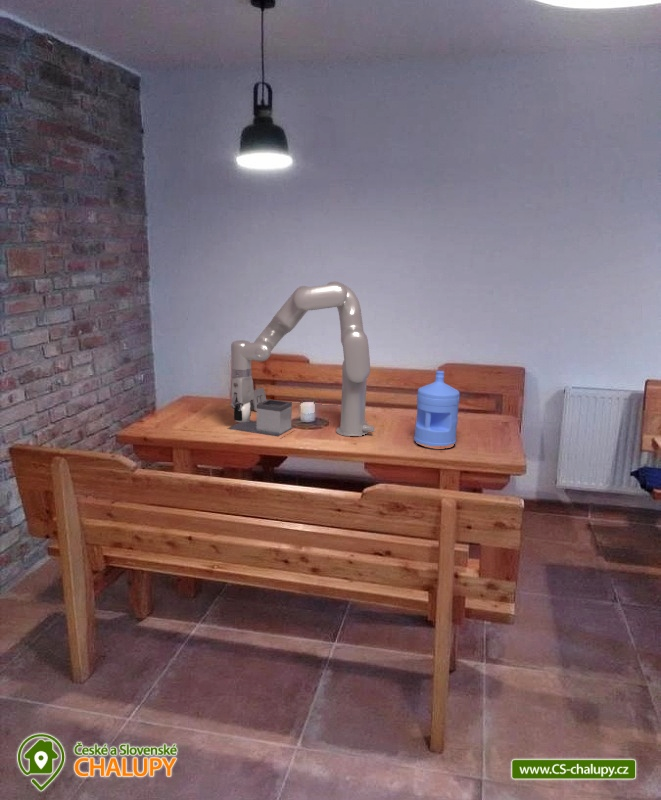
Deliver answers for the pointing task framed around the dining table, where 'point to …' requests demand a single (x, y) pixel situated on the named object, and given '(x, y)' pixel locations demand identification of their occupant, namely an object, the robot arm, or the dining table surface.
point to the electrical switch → (258, 398)
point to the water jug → (437, 413)
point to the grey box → (269, 419)
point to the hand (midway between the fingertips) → (242, 418)
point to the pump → (245, 412)
